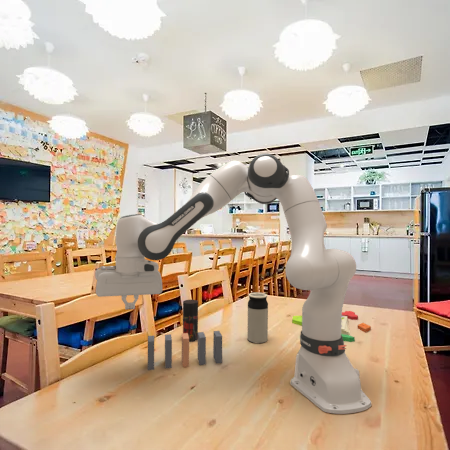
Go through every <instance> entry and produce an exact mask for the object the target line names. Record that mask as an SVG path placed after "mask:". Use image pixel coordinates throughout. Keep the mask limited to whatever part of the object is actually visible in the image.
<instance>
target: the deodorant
mask: <svg viewBox="0 0 450 450" xmlns="http://www.w3.org/2000/svg"><path fill="white" fill-rule="evenodd" d="M198 332H199V300H198V299H197V300H196V299H185V300H183V301H182V333H188V336H189V343H193V342H194V343H195V342H196V341H197V342H198Z"/></svg>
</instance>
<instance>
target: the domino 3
mask: <svg viewBox="0 0 450 450" xmlns="http://www.w3.org/2000/svg"><path fill="white" fill-rule="evenodd" d="M181 363H182V368H183V367H185V368H186V367H189V366H190V342H189V336H188V333H183V332H182V333H181Z"/></svg>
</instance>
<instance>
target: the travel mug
mask: <svg viewBox="0 0 450 450" xmlns="http://www.w3.org/2000/svg"><path fill="white" fill-rule="evenodd" d="M248 298H249V300H248V302H247V337H246V338H247V340H248V341H249V342H251V343H254V344H263V343H265V342H267V341H268V337H269V336H268V333H269V331H268V330H269V329H268V328H269V325H268V324H269V303H268V300H267V298H268V294H266V293H264V292H251V293H249V294H248Z"/></svg>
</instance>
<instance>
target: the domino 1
mask: <svg viewBox="0 0 450 450" xmlns="http://www.w3.org/2000/svg"><path fill="white" fill-rule="evenodd" d="M153 370H155V335H148V336H147V371H153Z"/></svg>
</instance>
